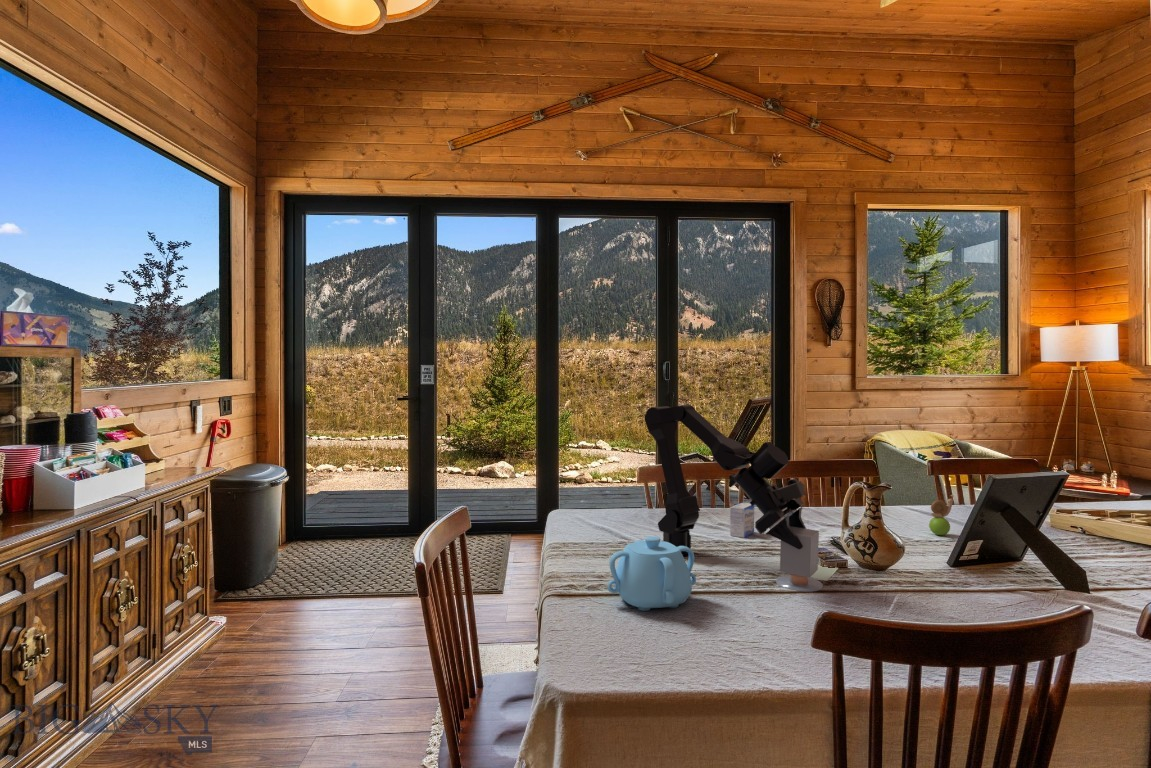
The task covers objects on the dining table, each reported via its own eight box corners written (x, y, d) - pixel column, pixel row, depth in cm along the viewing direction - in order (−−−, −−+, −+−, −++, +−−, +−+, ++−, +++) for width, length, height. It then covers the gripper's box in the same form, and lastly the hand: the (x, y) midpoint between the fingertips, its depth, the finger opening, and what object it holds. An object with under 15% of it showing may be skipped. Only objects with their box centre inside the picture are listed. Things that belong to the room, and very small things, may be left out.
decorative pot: (668, 623, 124) (669, 554, 123) (599, 604, 133) (599, 539, 133) (703, 598, 137) (704, 535, 136) (638, 582, 146) (639, 524, 146)
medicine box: (744, 538, 184) (744, 508, 184) (729, 535, 187) (729, 506, 186) (754, 532, 190) (754, 503, 190) (740, 530, 193) (740, 501, 193)
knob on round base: (796, 595, 139) (796, 579, 139) (766, 580, 148) (767, 565, 148) (832, 589, 142) (832, 573, 142) (801, 575, 152) (801, 560, 152)
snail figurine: (957, 537, 186) (958, 496, 185) (935, 537, 186) (936, 496, 186) (946, 532, 191) (947, 493, 191) (925, 532, 191) (926, 492, 191)
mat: (779, 573, 154) (779, 571, 154) (792, 561, 163) (792, 559, 163) (827, 582, 147) (827, 580, 147) (838, 569, 156) (838, 568, 156)
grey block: (779, 571, 144) (780, 532, 144) (788, 564, 150) (789, 526, 149) (809, 577, 141) (811, 537, 140) (817, 569, 146) (818, 530, 146)
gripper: (770, 474, 139) (822, 532, 133) (795, 463, 154) (842, 515, 148) (734, 505, 144) (783, 562, 138) (762, 491, 159) (807, 543, 153)
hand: (805, 544), depth 144 cm, fingers closed on grey block, 7 cm apart
